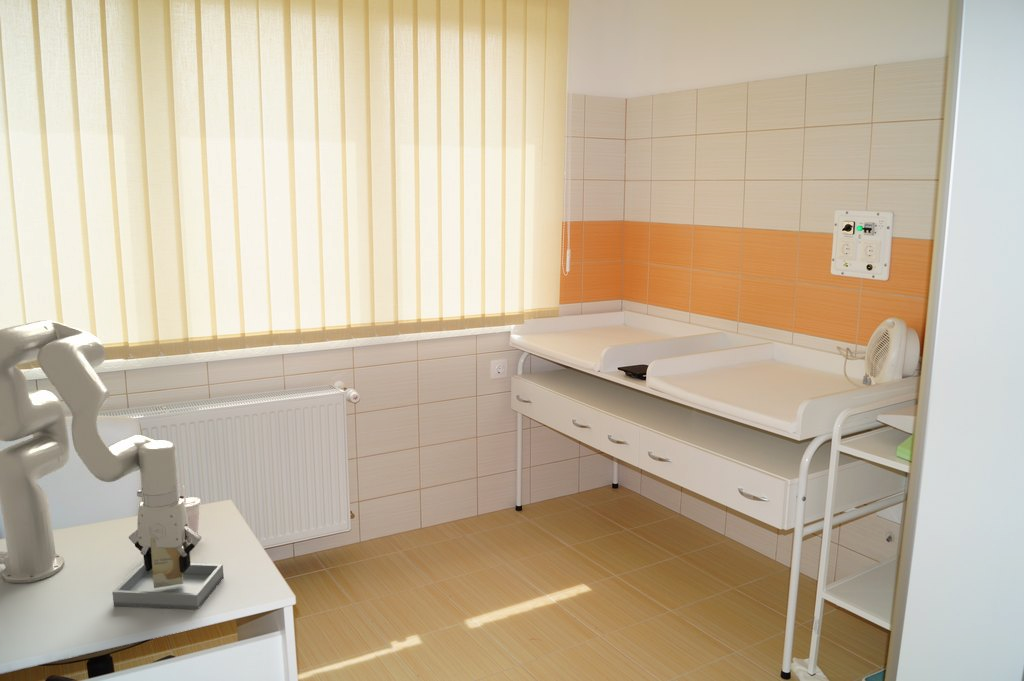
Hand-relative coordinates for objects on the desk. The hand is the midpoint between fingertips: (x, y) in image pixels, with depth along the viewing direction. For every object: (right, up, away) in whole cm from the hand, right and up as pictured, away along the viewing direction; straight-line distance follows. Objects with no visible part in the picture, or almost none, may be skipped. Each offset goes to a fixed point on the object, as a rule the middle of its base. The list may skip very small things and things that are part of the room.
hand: (167, 568), depth 177 cm
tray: (0, -6, +1) cm, 6 cm away
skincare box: (0, -3, +1) cm, 4 cm away
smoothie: (-6, 0, +28) cm, 29 cm away
